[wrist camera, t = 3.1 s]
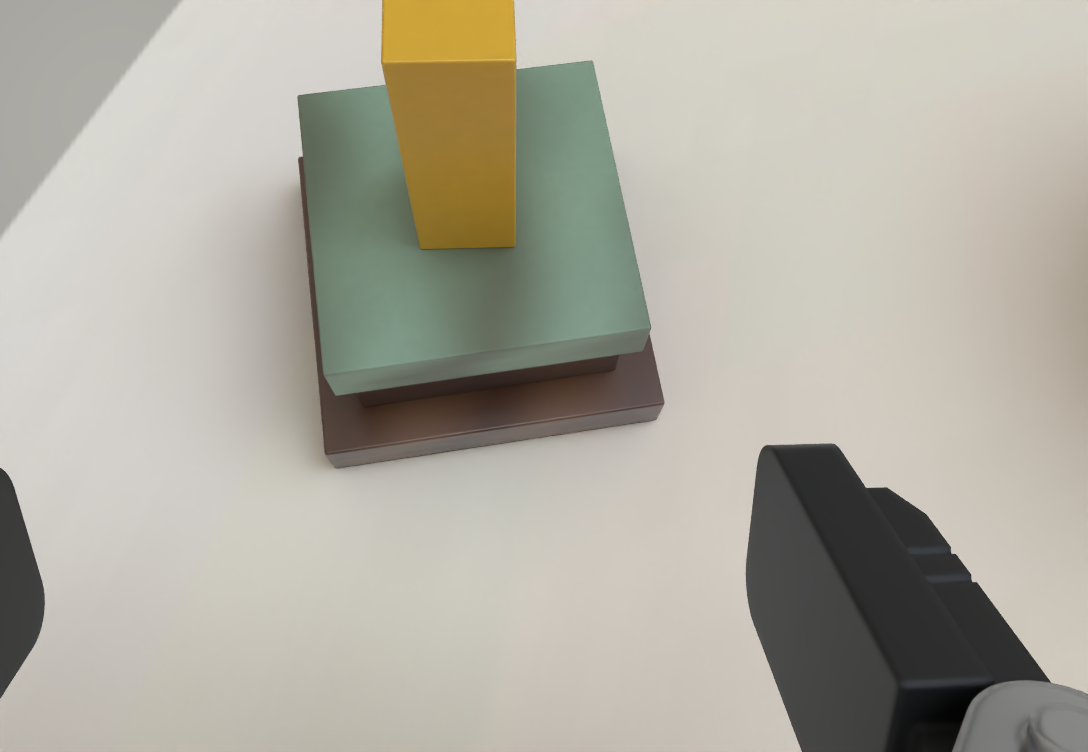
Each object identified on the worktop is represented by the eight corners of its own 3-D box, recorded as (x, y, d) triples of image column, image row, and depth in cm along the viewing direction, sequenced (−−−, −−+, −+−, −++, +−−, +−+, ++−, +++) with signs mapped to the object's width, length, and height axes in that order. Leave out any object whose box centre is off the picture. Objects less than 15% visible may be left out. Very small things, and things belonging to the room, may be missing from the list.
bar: (419, 250, 29) (380, 63, 20) (420, 166, 30) (383, -45, 21) (515, 247, 29) (516, 61, 21) (512, 165, 30) (512, -46, 22)
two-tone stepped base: (335, 469, 34) (291, 412, 27) (308, 183, 38) (264, 73, 31) (656, 420, 35) (690, 353, 28) (598, 147, 39) (616, 32, 32)
